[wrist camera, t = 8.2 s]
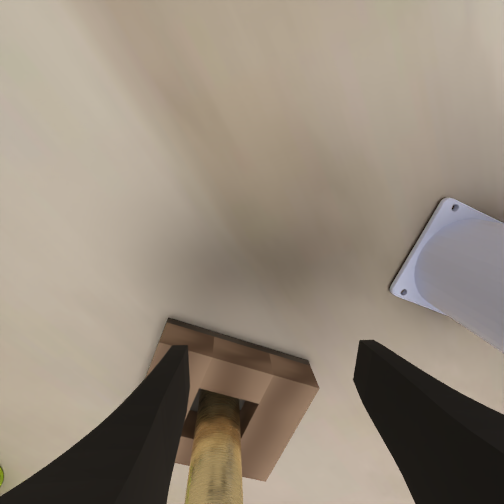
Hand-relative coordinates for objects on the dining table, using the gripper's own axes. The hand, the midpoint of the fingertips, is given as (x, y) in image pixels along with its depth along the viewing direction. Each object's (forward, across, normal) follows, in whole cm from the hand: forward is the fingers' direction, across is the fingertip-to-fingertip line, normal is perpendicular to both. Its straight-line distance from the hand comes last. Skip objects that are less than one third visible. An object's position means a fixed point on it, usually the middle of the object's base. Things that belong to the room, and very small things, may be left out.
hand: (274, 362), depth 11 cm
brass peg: (+9, +3, +10) cm, 14 cm away
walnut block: (+9, +3, +10) cm, 14 cm away
